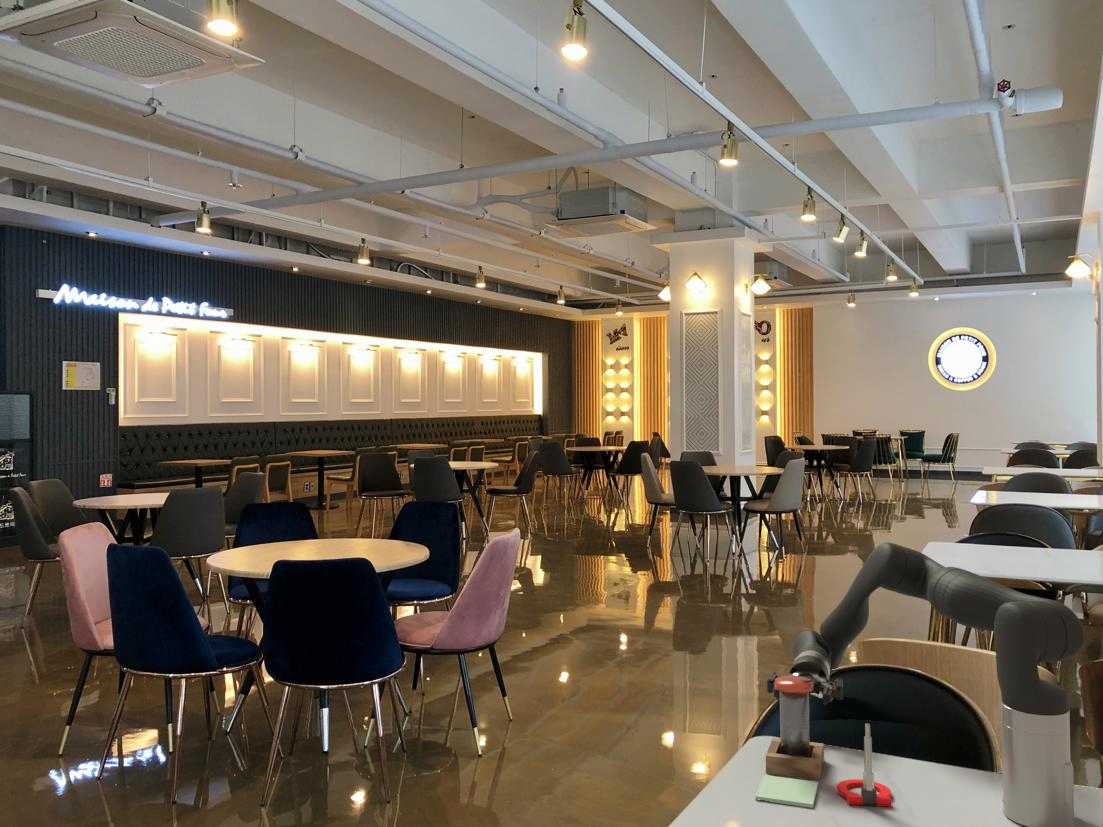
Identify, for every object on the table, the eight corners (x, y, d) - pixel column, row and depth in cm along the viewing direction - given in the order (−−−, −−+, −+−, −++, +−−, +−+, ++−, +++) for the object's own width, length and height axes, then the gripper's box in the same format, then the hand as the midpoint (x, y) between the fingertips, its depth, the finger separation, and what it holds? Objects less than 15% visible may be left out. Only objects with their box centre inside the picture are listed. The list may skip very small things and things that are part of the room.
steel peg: (816, 761, 161) (814, 677, 160) (812, 776, 154) (811, 688, 154) (778, 757, 163) (777, 674, 163) (773, 771, 157) (772, 684, 157)
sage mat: (818, 785, 151) (818, 782, 151) (812, 808, 142) (812, 804, 142) (763, 778, 154) (763, 774, 154) (755, 799, 146) (755, 796, 146)
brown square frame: (824, 760, 161) (823, 743, 161) (819, 779, 153) (819, 762, 153) (773, 754, 165) (772, 737, 165) (765, 772, 156) (765, 755, 156)
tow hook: (833, 784, 152) (842, 806, 143) (832, 707, 153) (841, 724, 143) (885, 787, 151) (897, 809, 142) (883, 709, 151) (896, 726, 142)
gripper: (774, 651, 187) (762, 673, 171) (846, 657, 181) (840, 680, 166) (775, 687, 187) (763, 712, 171) (846, 694, 181) (841, 721, 166)
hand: (801, 697), depth 169 cm, fingers open, 8 cm apart
